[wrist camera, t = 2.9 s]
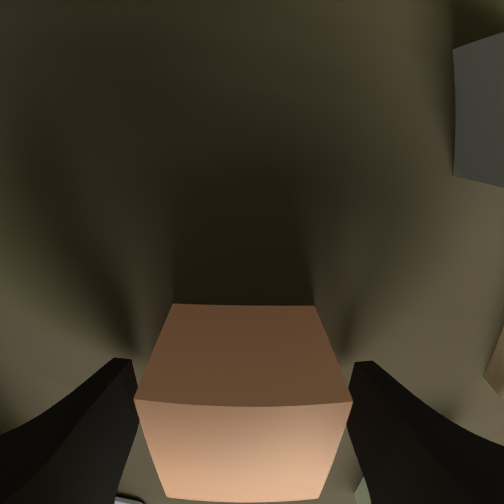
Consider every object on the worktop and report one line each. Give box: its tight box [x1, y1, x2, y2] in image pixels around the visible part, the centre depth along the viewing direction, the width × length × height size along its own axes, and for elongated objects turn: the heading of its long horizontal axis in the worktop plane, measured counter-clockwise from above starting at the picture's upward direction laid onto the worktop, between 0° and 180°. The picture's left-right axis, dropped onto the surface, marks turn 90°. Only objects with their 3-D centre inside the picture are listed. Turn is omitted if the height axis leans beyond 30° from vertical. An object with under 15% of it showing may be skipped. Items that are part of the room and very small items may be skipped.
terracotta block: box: [134, 304, 353, 502], centre depth 9 cm, size 4×4×4 cm
